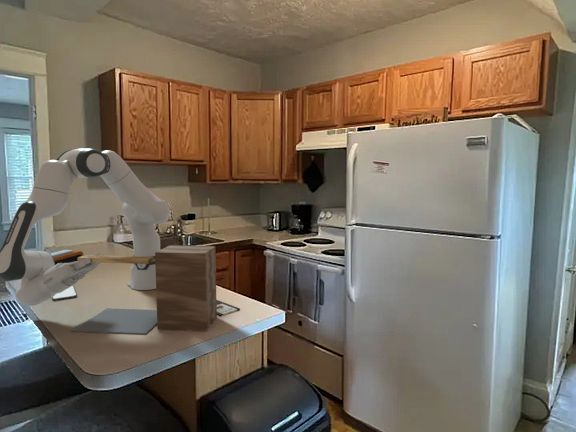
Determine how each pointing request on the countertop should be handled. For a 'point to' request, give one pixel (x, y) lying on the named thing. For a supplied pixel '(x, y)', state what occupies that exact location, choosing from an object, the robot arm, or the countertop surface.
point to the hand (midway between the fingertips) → (95, 257)
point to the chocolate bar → (225, 308)
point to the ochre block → (118, 259)
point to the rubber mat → (120, 321)
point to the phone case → (66, 294)
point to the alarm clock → (66, 256)
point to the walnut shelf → (186, 287)
